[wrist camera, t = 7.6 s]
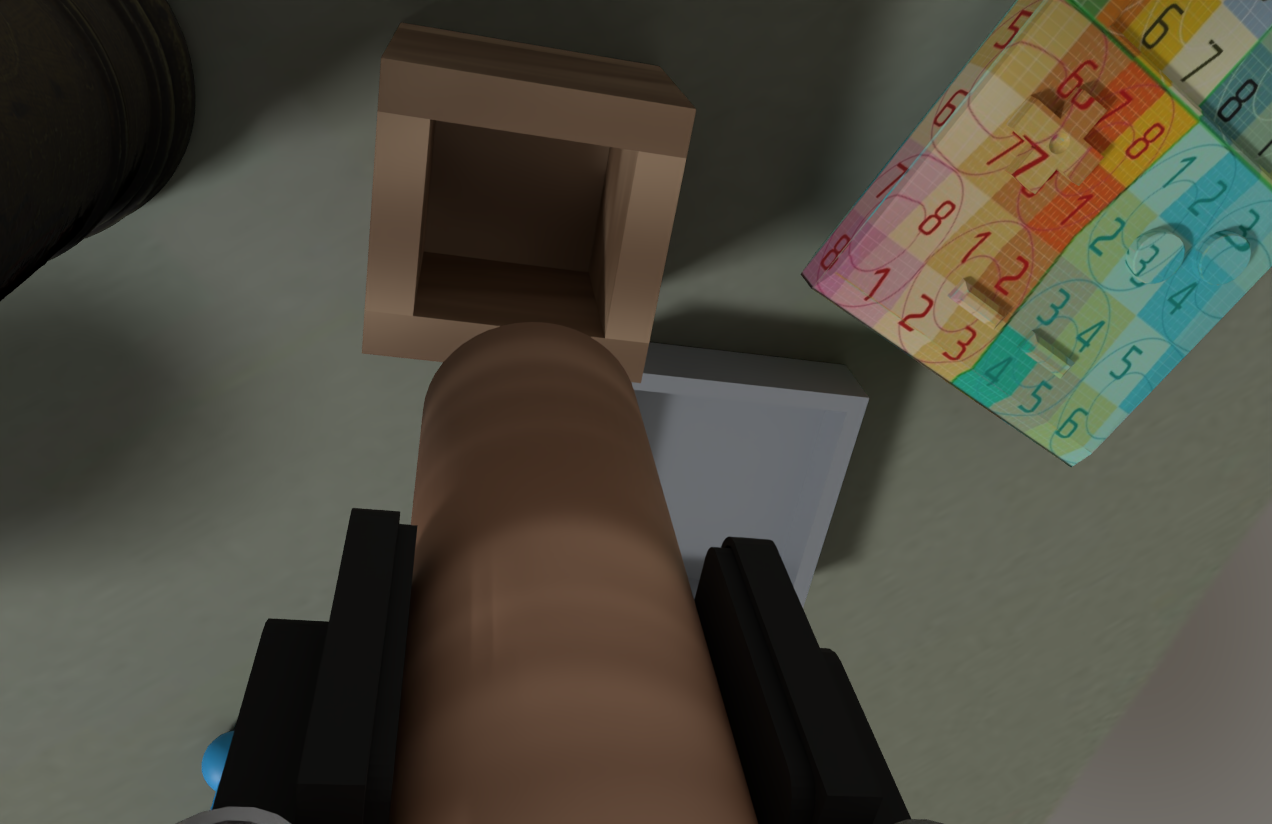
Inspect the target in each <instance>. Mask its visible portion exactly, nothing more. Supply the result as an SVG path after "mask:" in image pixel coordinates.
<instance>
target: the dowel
mask: <svg viewBox="0 0 1272 824" xmlns="http://www.w3.org/2000/svg"><path fill="white" fill-rule="evenodd" d="M411 525H418V526H417V536H416V547H415V557H414V567H413V578H412V588H411V598H410V609H409V619H408V629H407V640H406V650H405V660H404V671H403V681H402V692H401V702H400V712H399V723H398V733H397V743H396V754H395V764H394V774H393V785H392V795H391V805H390V815H389V824H758V821H757V817H756V814H755V810H754V807H753V803H752V800H751V796H750V793H749V789H748V786H747V782H746V779H745V775H744V772H743V768H742V765H741V761H740V758H739V754H738V751H737V747H736V744H735V740H734V737H733V733H732V730H731V726H730V723H729V719H728V716H727V713H726V709H725V706H724V702H723V699H722V695H721V692H720V688H719V685H718V681H717V678H716V674H715V671H714V667H713V664H712V660H711V657H710V653H709V650H708V646H707V643H706V639H705V636H704V632H703V629H702V625H701V622H700V618H699V615H698V611H697V608H696V604H695V601H694V597H693V594H692V590H691V587H690V584H689V580H688V577H687V573H686V570H685V566H684V563H683V559H682V556H681V552H680V549H679V545H678V542H677V538H676V535H675V531H674V528H673V524H672V521H671V517H670V514H669V510H668V507H667V503H666V500H665V496H664V493H663V489H662V486H661V482H660V479H659V475H658V472H657V468H656V465H655V461H654V458H653V455H652V451H651V448H650V444H649V441H648V437H647V434H646V430H645V427H644V423H643V420H642V416H641V413H640V409H639V406H638V402H637V399H636V395H635V392H634V389H633V386H632V383H631V381H630V379H629V377H628V375H627V373H626V371H625V369H624V368H623V366H622V365H621V364H620V362H619V361H618V360H617V359H616V357H615V356H614V355H613V354H612V353H611V352H610V351H609V350H608V349H606V348H605V347H604V346H603V345H602V344H600V343H599V342H598V341H596V340H594V339H593V338H591V337H589V336H588V335H586V334H584V333H581V332H579V331H577V330H575V329H571V328H568V327H565V326H562V325H557V324H551V323H543V322H523V323H514V324H509V325H503V326H500V327H497V328H494V329H490V330H488V331H486V332H483V333H481V334H479V335H477V336H475V337H473V338H472V339H470V340H468V341H467V342H465V343H464V344H462V345H461V346H460V347H459V348H457V349H456V350H455V351H454V352H453V353H452V354H451V355H450V356H449V357H448V358H447V359H446V360H445V361H444V362H443V363H442V365H441V366H440V368H439V369H438V371H437V372H436V373H435V375H434V377H433V379H432V381H431V383H430V385H429V388H428V391H427V394H426V397H425V402H424V408H423V416H422V425H421V435H420V444H419V453H418V463H417V472H416V481H415V491H414V500H413V509H412V519H411Z"/></svg>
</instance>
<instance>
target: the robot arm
mask: <svg viewBox="0 0 1272 824" xmlns="http://www.w3.org/2000/svg"><path fill="white" fill-rule="evenodd" d="M399 521H400V512H399V511H385V510H372V509H359V508H352V511H351V515H350V520H349V525H348V530H347V535H346V540H345V545H344V550H343V555H342V560H341V565H340V570H339V575H338V580H337V585H336V590H335V595H334V600H333V605H332V610H331V615H330V620H329V622H324V621H306V620H287V619H268V620H267V621H266V623H265V626H264V629H263V632H262V635H261V639H260V642H259V646H258V649H257V653H256V656H255V660H254V663H253V667H252V670H251V674H250V677H249V681H248V684H247V688H246V691H245V695H244V698H243V702H242V705H241V709H240V712H239V716H238V720H237V723H236V727H235V730H234V734H233V737H232V741H231V744H230V748H229V751H228V755H227V758H226V762H225V765H224V769H223V772H222V776H221V779H220V783H219V786H218V790H217V793H216V797H215V800H214V804H213V808H212V810H209V811H204V812H200V813H198V814H196V815H194V816H191V817H189V818H187V819H185V820H182V821H180V822H178V823H176V824H389V815H390V805H391V795H392V785H393V774H394V764H395V754H396V743H397V733H398V723H399V712H400V702H401V692H402V681H403V671H404V660H405V650H406V640H407V629H408V619H409V609H410V598H411V588H412V578H413V567H414V557H415V547H416V536H417V526H418V525H405V524H399ZM694 601H695V604H696V608H697V611H698V615H699V618H700V622H701V625H702V629H703V632H704V636H705V639H706V643H707V646H708V650H709V653H710V657H711V660H712V664H713V667H714V671H715V674H716V678H717V681H718V685H719V688H720V692H721V695H722V699H723V702H724V706H725V709H726V713H727V716H728V719H729V723H730V726H731V730H732V733H733V737H734V740H735V744H736V747H737V751H738V754H739V758H740V761H741V765H742V768H743V772H744V775H745V779H746V782H747V786H748V789H749V793H750V796H751V800H752V803H753V807H754V810H755V814H756V817H757V821H758V824H943V823H939V822H935V821H931V820H927V819H911V817H910V815H909V813H908V811H907V808H906V806H905V804H904V802H903V799H902V797H901V795H900V793H899V790H898V788H897V786H896V784H895V781H894V779H893V777H892V775H891V772H890V770H889V768H888V766H887V763H886V761H885V759H884V757H883V755H882V752H881V750H880V748H879V746H878V743H877V741H876V739H875V737H874V734H873V732H872V730H871V728H870V725H869V723H868V721H867V719H866V716H865V714H864V712H863V710H862V708H861V705H860V703H859V701H858V699H857V696H856V694H855V692H854V690H853V687H852V685H851V683H850V681H849V678H848V676H847V674H846V672H845V669H844V667H843V665H842V663H841V661H840V659H839V658H838V656H837V654H836V653H835V652H834V651H832V650H830V649H827V648H820V647H819V645H818V643H817V640H816V638H815V636H814V633H813V631H812V629H811V626H810V624H809V622H808V619H807V617H806V615H805V612H804V610H803V608H802V605H801V603H800V601H799V598H798V596H797V594H796V591H795V589H794V587H793V584H792V582H791V580H790V577H789V575H788V572H787V570H786V568H785V565H784V563H783V561H782V558H781V556H780V554H779V551H778V549H777V547H776V545H775V543H774V542H773V541H772V540H770V539H757V538H744V537H730V536H728V537H727V538H725V540H724V541H723V543H722V546H721V547H710V548H709V549H708V551H707V554H706V557H705V560H704V564H703V568H702V572H701V576H700V580H699V584H698V588H697V591H696V595H695V599H694Z"/></svg>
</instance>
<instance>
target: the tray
mask: <svg viewBox="0 0 1272 824" xmlns="http://www.w3.org/2000/svg"><path fill="white" fill-rule="evenodd" d="M631 383H632V386H633V389H634V392H635V395H636V399H637V402H638V406H639V409H640V413H641V416H642V420H643V423H644V427H645V430H646V434H647V437H648V441H649V444H650V448H651V451H652V455H653V458H654V461H655V465H656V468H657V472H658V475H659V479H660V482H661V486H662V489H663V493H664V496H665V500H666V503H667V507H668V510H669V514H670V517H671V521H672V524H673V528H674V531H675V535H676V538H677V542H678V545H679V549H680V552H681V556H682V559H683V563H684V566H685V570H686V573H687V577H688V580H689V584H690V587H691V590H692V594H693V597H694V599H695V595H696V591H697V588H698V584H699V580H700V576H701V572H702V568H703V564H704V560H705V557H706V554H707V551H708V549H709V548H710V547H721V546H722V543H723V541H724V540H725V538H727V537H728V536H730V537H744V538H757V539H770V540H772V541H773V542H774V543H775V545H776V547H777V549H778V551H779V554H780V556H781V558H782V561H783V563H784V565H785V568H786V570H787V572H788V575H789V577H790V580H791V582H792V584H793V587H794V589H795V591H796V594H797V596H798V598H799V601H800V603H801V605H802V608H803V606H804V603H805V600H806V597H807V594H808V591H809V587H810V584H811V581H812V578H813V575H814V572H815V568H816V565H817V562H818V559H819V556H820V553H821V549H822V546H823V543H824V540H825V537H826V534H827V530H828V527H829V524H830V521H831V518H832V515H833V511H834V508H835V505H836V502H837V499H838V496H839V492H840V489H841V486H842V483H843V480H844V477H845V473H846V470H847V467H848V464H849V461H850V458H851V454H852V451H853V448H854V445H855V442H856V439H857V435H858V432H859V429H860V426H861V423H862V420H863V416H864V413H865V410H866V407H867V404H868V401H869V397H868V395H867V394H866V393H865V391H864V390H863V388H862V387H861V386H860V384H859V383H858V381H857V380H856V379H855V377H854V376H853V374H852V373H851V372H850V370H849V369H848V367H847V366H846V365H842V364H833V363H825V362H816V361H807V360H799V359H790V358H781V357H773V356H764V355H755V354H747V353H738V352H729V351H721V350H712V349H703V348H695V347H686V346H678V345H669V344H660V343H652V342H649V346H648V351H647V356H646V361H645V366H644V371H643V376H642V381H641V383H634V382H631Z"/></svg>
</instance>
